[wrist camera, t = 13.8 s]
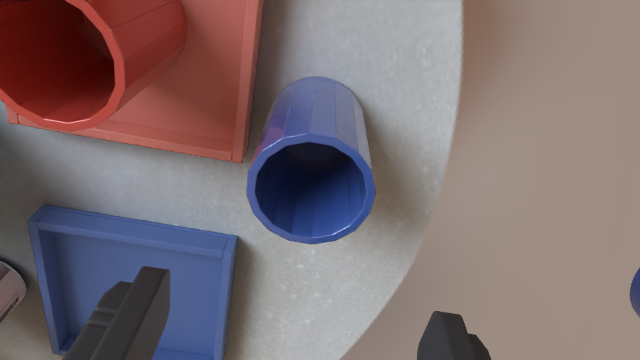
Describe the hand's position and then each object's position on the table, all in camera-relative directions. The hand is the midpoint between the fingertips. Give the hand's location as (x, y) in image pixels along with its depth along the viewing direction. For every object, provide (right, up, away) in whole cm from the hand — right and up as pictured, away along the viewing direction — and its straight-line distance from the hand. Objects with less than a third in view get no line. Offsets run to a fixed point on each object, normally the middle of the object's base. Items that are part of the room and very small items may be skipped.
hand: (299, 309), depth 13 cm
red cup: (-9, +12, +10) cm, 18 cm away
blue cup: (0, +7, +13) cm, 15 cm away
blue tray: (-13, -4, +20) cm, 24 cm away
